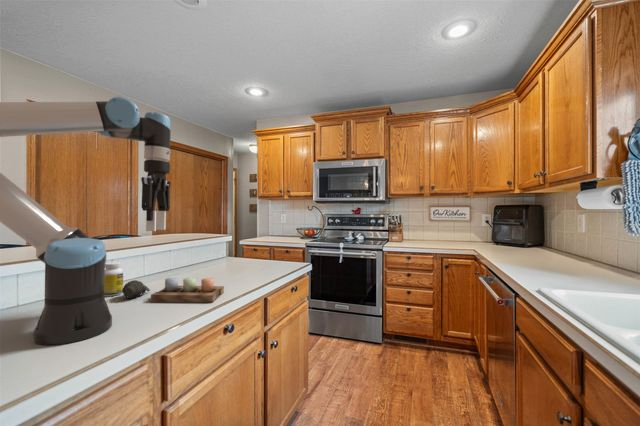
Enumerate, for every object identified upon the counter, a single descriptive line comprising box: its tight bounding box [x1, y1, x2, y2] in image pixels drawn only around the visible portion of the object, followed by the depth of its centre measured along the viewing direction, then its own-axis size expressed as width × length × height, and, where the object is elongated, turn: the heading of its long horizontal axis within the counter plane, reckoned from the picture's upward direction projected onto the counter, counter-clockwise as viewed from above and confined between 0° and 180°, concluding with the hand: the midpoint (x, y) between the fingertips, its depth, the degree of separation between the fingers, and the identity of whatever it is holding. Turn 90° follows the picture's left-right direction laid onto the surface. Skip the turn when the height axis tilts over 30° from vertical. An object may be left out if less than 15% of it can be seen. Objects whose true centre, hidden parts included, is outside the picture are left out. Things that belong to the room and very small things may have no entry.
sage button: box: [182, 277, 197, 292], centre depth 103 cm, size 4×4×4 cm
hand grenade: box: [122, 279, 151, 299], centre depth 103 cm, size 6×7×12 cm
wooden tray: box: [150, 285, 225, 304], centre depth 103 cm, size 21×12×2 cm, turn 92°
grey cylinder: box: [164, 277, 179, 292], centre depth 103 cm, size 4×4×4 cm
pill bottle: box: [104, 261, 124, 298], centre depth 104 cm, size 6×6×12 cm
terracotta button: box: [200, 277, 215, 292], centre depth 103 cm, size 4×4×4 cm
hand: (156, 230), depth 95 cm, fingers open, 5 cm apart
